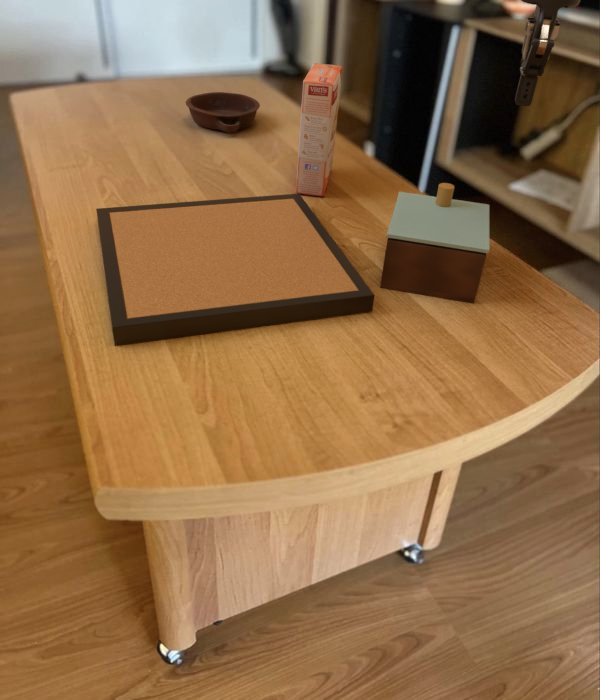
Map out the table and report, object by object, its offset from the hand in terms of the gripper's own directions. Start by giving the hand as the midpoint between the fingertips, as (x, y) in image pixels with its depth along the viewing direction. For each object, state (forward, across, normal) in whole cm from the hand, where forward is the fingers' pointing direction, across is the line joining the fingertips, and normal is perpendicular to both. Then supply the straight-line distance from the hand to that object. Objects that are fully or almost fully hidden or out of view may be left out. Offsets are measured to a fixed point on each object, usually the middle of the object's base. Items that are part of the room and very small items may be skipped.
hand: (522, 104), depth 89 cm
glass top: (+17, -6, +8) cm, 19 cm away
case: (+25, -6, +8) cm, 27 cm away
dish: (+25, +50, +62) cm, 84 cm away
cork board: (+25, -15, +40) cm, 49 cm away
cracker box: (+25, +22, +33) cm, 47 cm away
